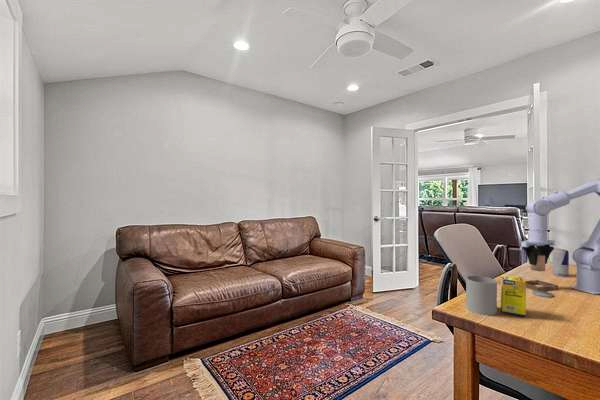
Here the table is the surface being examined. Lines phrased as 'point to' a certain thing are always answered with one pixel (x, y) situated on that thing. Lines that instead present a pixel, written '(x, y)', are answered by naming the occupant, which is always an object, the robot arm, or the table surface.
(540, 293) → the glossy gray dome
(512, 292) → the supplement box
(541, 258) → the clay pot
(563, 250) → the energy drink
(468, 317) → the table surface
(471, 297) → the cup
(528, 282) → the frame
